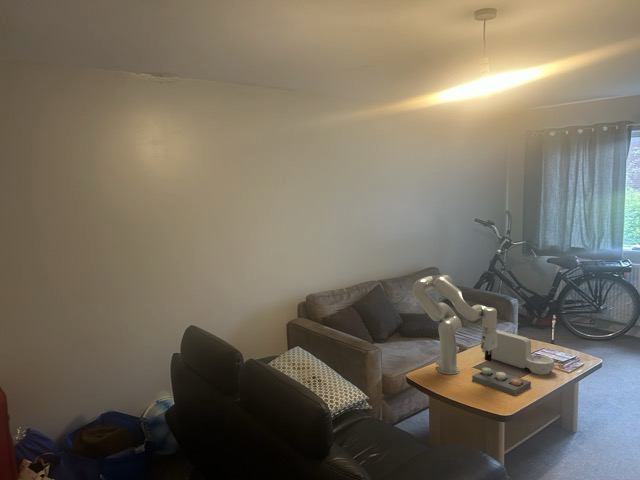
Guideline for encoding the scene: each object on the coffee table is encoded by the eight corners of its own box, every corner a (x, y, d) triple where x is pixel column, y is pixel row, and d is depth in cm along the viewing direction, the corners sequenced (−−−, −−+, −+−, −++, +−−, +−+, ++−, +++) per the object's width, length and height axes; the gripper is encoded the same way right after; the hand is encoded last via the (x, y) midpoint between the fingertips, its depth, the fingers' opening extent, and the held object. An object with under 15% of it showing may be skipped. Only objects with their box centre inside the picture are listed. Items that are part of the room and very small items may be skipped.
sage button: (480, 373, 264) (480, 369, 263) (485, 370, 267) (485, 366, 266) (487, 375, 260) (487, 371, 259) (492, 373, 263) (492, 369, 262)
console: (472, 380, 262) (472, 375, 262) (488, 373, 271) (488, 368, 271) (515, 395, 241) (515, 390, 241) (530, 386, 251) (530, 381, 250)
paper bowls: (538, 365, 280) (538, 352, 279) (559, 373, 266) (560, 360, 265) (519, 369, 274) (519, 357, 273) (540, 379, 260) (540, 365, 259)
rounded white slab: (533, 366, 278) (533, 337, 276) (525, 369, 274) (526, 340, 272) (492, 353, 302) (492, 327, 300) (485, 356, 298) (485, 329, 296)
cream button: (494, 377, 256) (494, 373, 256) (499, 375, 259) (499, 371, 259) (502, 380, 252) (502, 376, 252) (507, 378, 255) (507, 373, 255)
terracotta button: (509, 384, 249) (509, 380, 249) (514, 382, 252) (514, 377, 252) (517, 387, 245) (517, 383, 245) (522, 384, 248) (522, 380, 248)
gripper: (487, 333, 251) (486, 365, 254) (502, 328, 260) (501, 359, 263) (475, 330, 257) (474, 361, 260) (490, 325, 266) (489, 355, 269)
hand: (488, 360), depth 261 cm, fingers closed
